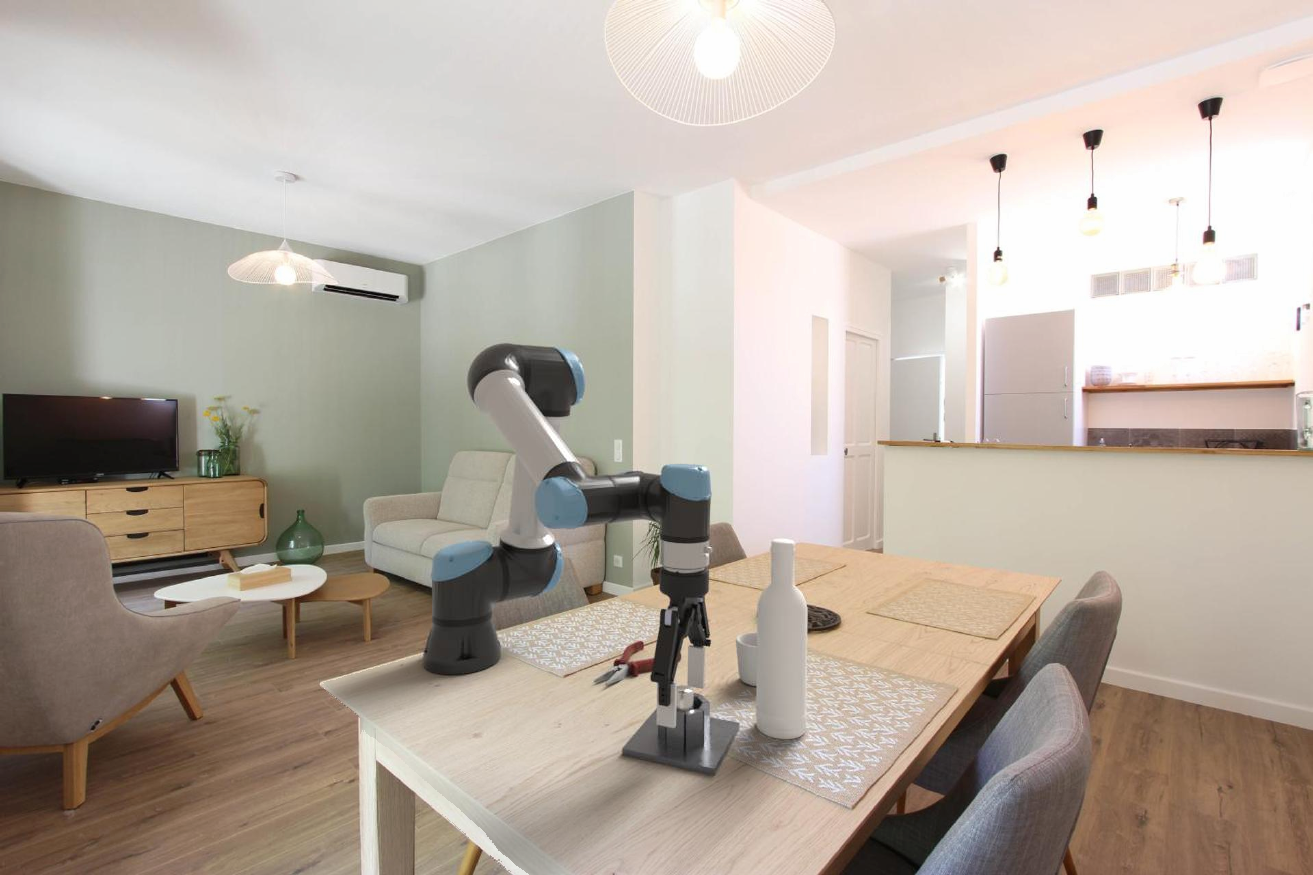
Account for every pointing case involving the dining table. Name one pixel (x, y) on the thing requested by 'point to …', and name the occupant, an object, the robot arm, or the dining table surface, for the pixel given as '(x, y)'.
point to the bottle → (781, 649)
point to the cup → (747, 657)
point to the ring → (689, 725)
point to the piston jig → (694, 758)
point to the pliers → (627, 665)
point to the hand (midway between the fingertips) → (682, 704)
